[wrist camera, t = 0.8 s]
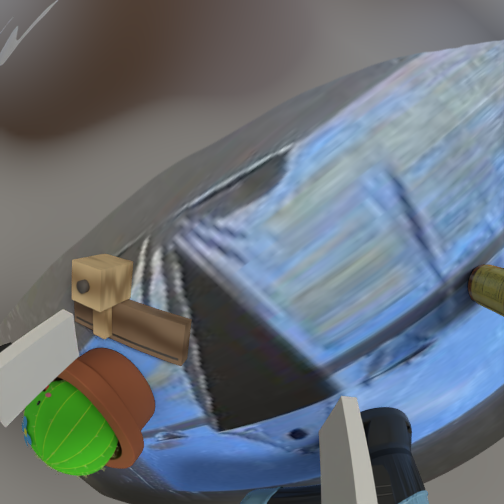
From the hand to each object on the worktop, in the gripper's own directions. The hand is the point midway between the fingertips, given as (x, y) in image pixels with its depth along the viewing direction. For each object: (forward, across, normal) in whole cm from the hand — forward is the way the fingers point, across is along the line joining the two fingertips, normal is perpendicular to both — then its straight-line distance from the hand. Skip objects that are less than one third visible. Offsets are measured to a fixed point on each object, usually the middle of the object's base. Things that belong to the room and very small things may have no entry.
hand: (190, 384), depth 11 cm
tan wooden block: (+26, +21, +13) cm, 36 cm away
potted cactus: (+23, +20, +33) cm, 45 cm away
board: (+25, +18, +17) cm, 35 cm away
